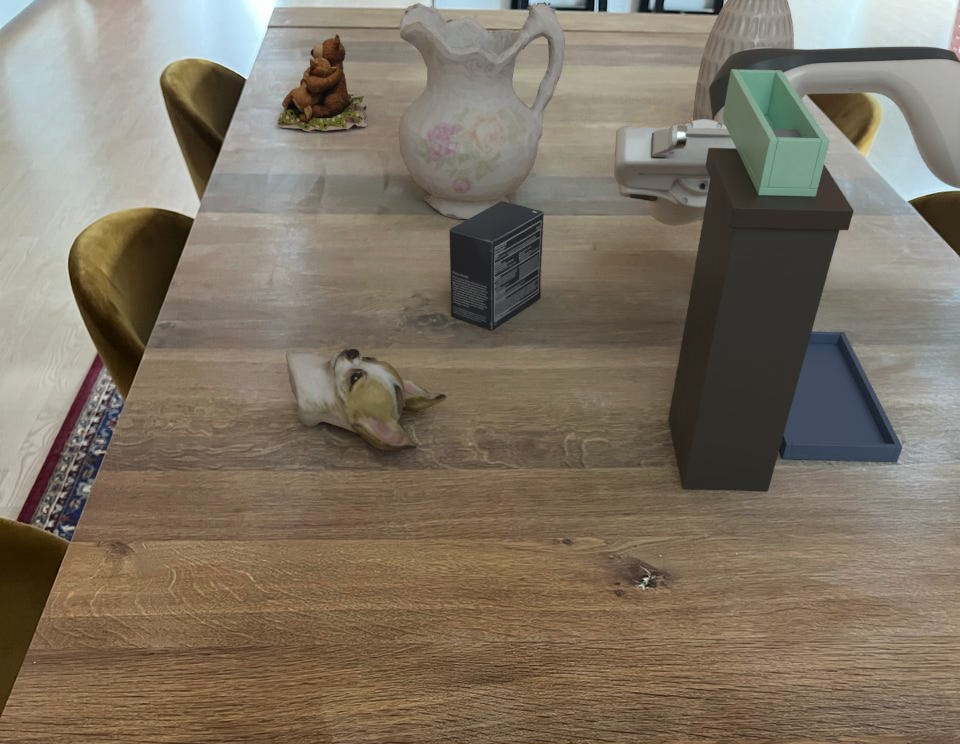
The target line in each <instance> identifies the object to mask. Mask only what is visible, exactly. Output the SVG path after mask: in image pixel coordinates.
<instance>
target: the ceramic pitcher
mask: <svg viewBox="0 0 960 744" xmlns="http://www.w3.org/2000/svg"><path fill="white" fill-rule="evenodd" d="M551 5H552V4H551V2H548V3H546V2H545V1H543V2H537V4H536V2H534V3H533V4H532V5H530V6H527V7H526V9H527V10H529V11H528V16H527V18H526V20H525V21H524V24H523V25H522V26H521V28H520V29H519V30H518V31H516V30H512V29H508V28H504V29H499V30H493V31H489V30H488V29H487V28H486V27H484V26H483V25H482V24H481V23H479V22H477V21H476V20H475V19H474V18H471V17H468V16H466V17H463V18H459V17H454V18H450V19H447V20H445V18H444V17H443V15H442V13H441V12H440V11H439V9H437V8H436V7H433V6H432V5H430V6H427V5H424V4H422V3H420V2H419V3H418V2H417V3H414V4H412V5H408V6H407V8H403V9H404V13H403V15H402V16H401V18H400V20H399V26H398V27H399V29H398V30H399V37H400V39H402V40H403V41H405V42H407V43H409V44H411V45H412V46H413V47H415V49H416V50H417V51H418V52H419V53H420V55H421V57H422V60H423V62H424V64H425V66H426V85H425V87H424V89H423V92H422V93H421V94H420V95H419V96H418V97H417V98H416V99H415V100H414V101H413V102H412V103H411V104H410V105H408V106H407V107H406V108H405V110H404V111H403V112H402V114H401V118H400V120H399V125H398V144H399V151H400V155H401V158H402V161H403V164H404V166H405V167H406V169H407V171H408V172H409V174H410V176H411V177H412V179H413V180H414V182H415V183H416V184H417V185H419V187H421V188H422V189H423V190H424V191H426V192H427V193H429V194H428V195H425V196H424V197H423V200H424V201H425V202H426V203H427V204H428V205H429V206H430V207H431V208H433V209H434V210H436V211H437V213H439V214H440V215H442V216H444V217H447V218H452V219H456V220H457V219H460V220H468V219H469V218H471V217H473V216H475V215H477V214H479V213H480V212H482V211H484V210H486V209H488V208H490V207H491V206H493V205H495V204H497V203H499V202H501V201H504V202H508V203H511V202H510V200H509V199H508V196H507V195H510V194H512V193H513V192H514V191H517V189H519V187H520V186H522V184H523V183H524V182H525V180H526V179H527V178H528V177H529V175H530V173H531V171H532V169H533V167H534V165H535V162H536V159H537V156H538V155H537V154H538V148H539V142H540V140H541V138H542V137H543V129H544V128H543V123H544V111H545V110H546V107H547V106H548V104H549V103H550V101H551V100H552V98H553V96H554V94H555V90H556V88H557V85H558V82H559V81H560V78H561V75H562V72H563V66H564V61H565V49H566V37H565V32H564V28H563V27H562V26H561V24H560V22H559V20H558V17H557V14H556V13H557V12H556V11H557V10H556V8H552V6H551ZM542 37H543V38H545V39H546V40H547V45H548V64H547V68H546V70H545V72H544V75H543V77H542V79H541V81H540V83H539V86H538V89H537V93H536V96H535V100H534V101H533V103H532V106H531V107H529V106H528V105H527V104H526V103H525V102H524V101H523V100H522V99H520V97H519V96H518V95H517V93H516V91H515V88H514V85H513V83H514V81H513V79H514V73H515V66H516V63H517V61H516V59H517V58H518V56H519V54H520V53H521V51H522V50H524V49H526V47H527V46H529V45H530V43H532V42H533V41H536V40H537V39H539V38H542Z"/></svg>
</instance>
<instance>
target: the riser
mask: <svg viewBox="0 0 960 744" xmlns="http://www.w3.org/2000/svg"><path fill="white" fill-rule="evenodd" d="M705 166H706V169H707V171H708V174H709V176H710V183H709V189H708V194H707V200H706V206H705V212H704V217H703V219H702V223H701V229H700V235H699V240H698V246H697V252H696V258H695V262H694V263H695V264H694V270H693V275H692V281H691V287H690V291H689V292H690V293H689V298H688V305H687V309H686V316H685V321H684V326H683V332H682V338H681V343H680V349H679V355H678V362H677V368H676V373H675V378H674V384H673V390H672V396H671V401H670V408H669V412H668V418H667V421H668V426H669V430H670V434H671V439H672V444H673V448H674V453H675V458H676V463H677V468H678V473H679V476H680V482H681V487H682V490H707V491H708V490H709V491H711V490H712V491H747V492H748V491H751V492H752V491H753V492H769V489H770V486H771V482H772V478H773V475H774V471H775V466H776V463H777V460H778V456H779V453H780V450H779V449H780V445H781V442H782V438H783V435H784V431H785V427H786V424H787V420H788V416H789V413H790V409H791V405H792V402H793V398H794V394H795V391H796V387H797V383H798V380H799V376H800V372H801V369H802V365H803V361H804V358H805V354H806V351H807V347H808V343H809V340H810V336H811V332H812V331H813V328H814V325H815V321H816V317H817V315H818V311H819V307H820V303H821V299H822V295H823V292H824V288H825V285H826V282H827V277H828V273H829V270H830V267H831V263H832V259H833V256H834V252H835V248H836V244H837V241H838V237H839V234H840V231H849V229H850V226H851V222H852V218H853V215H854V208H853V206H852V205H851V204H850V202H849V201H848V199H847V197H846V196H845V194H844V193H843V192H842V190H841V189H840V187H839V185H838V183H837V182H836V181H835V178H833V176H832V174H831V172H830V171H829V169H828V168H827V166H826V165H825V164H824V166H823V170H822V174H821V178H820V182H819V186H818V188H817V193H816V196H815V197H811V196H770V195H758V193H757V191H756V189H755V187H754V185H753V183H752V180H751V178H750V176H749V174H748V172H747V170H746V168H745V166H744V164H743V162H742V159H741V157H740V155H739V153H738V151H737V149H736V148H708V154H707V159H706V165H705Z"/></svg>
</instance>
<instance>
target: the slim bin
mask: <svg viewBox="0 0 960 744" xmlns="http://www.w3.org/2000/svg"><path fill="white" fill-rule="evenodd" d="M722 119H723V121H724V124H725V126H726V128H727V130H728V132H729V134H730V136H731V138H732V140H733V143H734V145H735V147H736V149H737V151H738V153H739V155H740V157H741V159H742V162H743V164H744V166H745V168H746V170H747V172H748V174H749V176H750V178H751V180H752V183H753V185H754V187H755V189H756V191H757V193H758V195H770V196H811V197H815V196H816V193H817V188H818V186H819V182H820V178H821V174H822V170H823V166H824V165H825V162H826V157H827V154H828V150H829V145H830V143H831V141H830V139H829V138H828V136H827V135H826V133H825V132H824V130H823V129H822V128H821V126H820V125H819V123H818V122H817V120H816V119H815V118H814V116H813V114H812V113H811V111H810V110H809V108H808V107H807V106H806V104H805V102H804V101H803V99H802V100H801V98H800V97H799V95H798V94H797V92H796V91H795V89H794V88H793V87H792V85H791V84H790V82H789V81H788V79H787V78H786V76H785V75H784V73H783V72H782V71H781V70H775V71H774V70H740V69H739V70H737V69H731V72H730V78H729V84H728V89H727V95H726V101H725V106H724V113H723V118H722Z"/></svg>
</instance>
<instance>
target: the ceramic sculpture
mask: <svg viewBox="0 0 960 744" xmlns="http://www.w3.org/2000/svg"><path fill="white" fill-rule="evenodd" d="M285 359H286V368H287V374H288V381H289V385H290V390H291V393H292V395H293V396H294V398H295V400H296V403H297V406H298V408H297V414H298V417H299V420H300V421H301V422H302V423H303V424H304V425H305V426H307V427H316V426H317V425H318V424H320V423H327V424H329V425H333V426H336V427H339V428H342V429H345V430H347V431H349V432H352V433H355V434H358V435H359V436H360V437H361V438H362V439H363V440H364V441H365V442H367V443H368V444H369V445H371V446H373V447H374V448H375V449H376V448H377V449H378V450H381V451H390V452H391V451H392V452H393V451H394V452H396V451H397V452H398V451H407V450H408V451H409V450H410V451H411V450H416V449H417V448H418V445H416V443H414V442H413V441H412V440H411V438H410V436H409V435H408V434H407V432H406V429H405V428H404V426H403V425H402V424H401V423H399V421H400V418H401V417H402V416H401V415H402V414H403V412H419V411H423V410H425V409H428V408H431V407H433V406H435V405H437V404H439V403H442V402H444V401H446V399H447V398H448V395H447V394H444V393H432V392H429V391H428V390H426V389H425V388H423V387H421V386H418V385H417V384H416V383H415V382H414V381H412V380H410V379H406V378H402V377H401V375H400V374H399V372H398V371H397V370H396V369H395V367H393V366H392V365H391V364H390V363H388V362H387V361H384V360H378V358H377V357H371V356H362V354H361V353H360V351H359V350H358V349H356V348H345V349H343V350H342V351H341V350H340V351H337V352H336V353H335V354H334V355H333V356H332V357H331V359H328V358H326V357H324V356H321V355H318V354H316V353H314V352H311V351H310V352H309V351H307V352H306V351H296V350H293V349H288V350H287V351H286V354H285Z"/></svg>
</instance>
